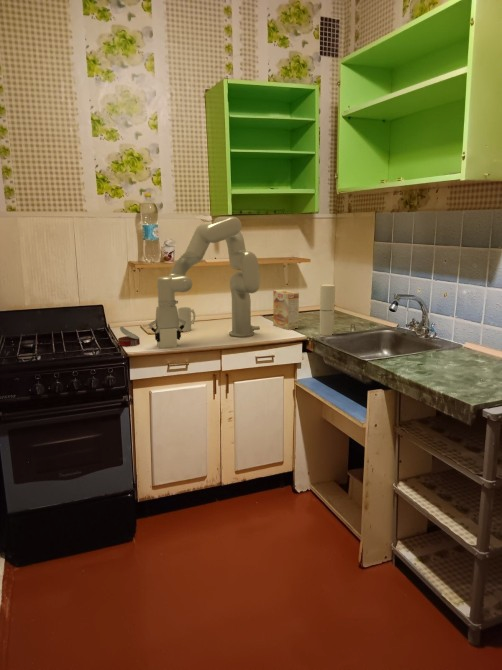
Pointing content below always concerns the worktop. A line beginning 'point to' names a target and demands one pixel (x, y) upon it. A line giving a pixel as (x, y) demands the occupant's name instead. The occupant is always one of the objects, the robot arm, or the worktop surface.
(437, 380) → the worktop surface
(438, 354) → the worktop surface
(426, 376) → the worktop surface
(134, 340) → the canned food
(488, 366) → the worktop surface
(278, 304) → the coffeecake box
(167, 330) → the grey piece
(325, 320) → the cylindrical container
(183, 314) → the mug
